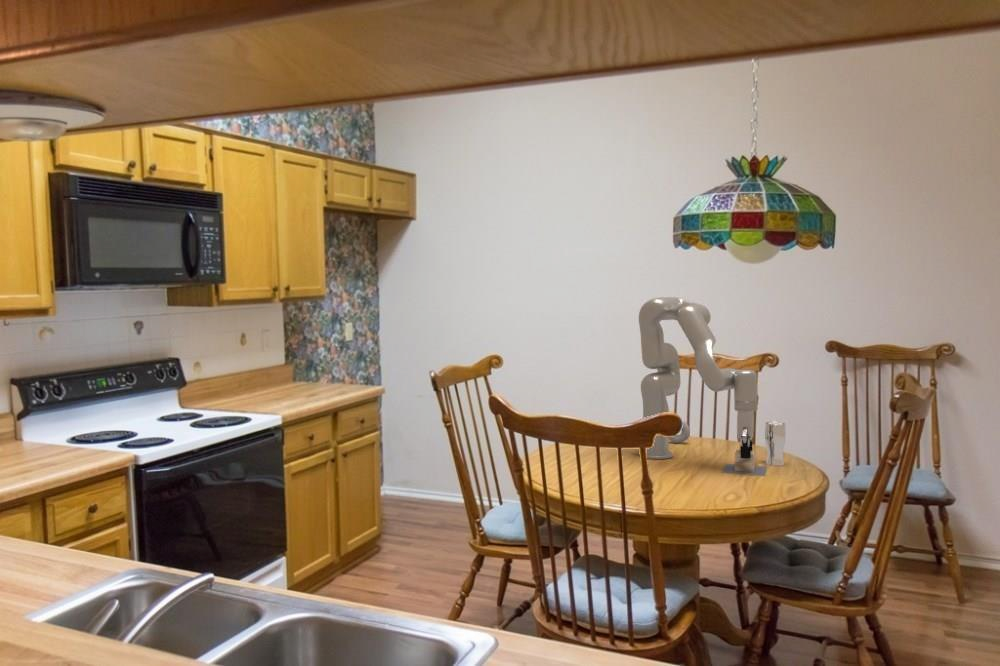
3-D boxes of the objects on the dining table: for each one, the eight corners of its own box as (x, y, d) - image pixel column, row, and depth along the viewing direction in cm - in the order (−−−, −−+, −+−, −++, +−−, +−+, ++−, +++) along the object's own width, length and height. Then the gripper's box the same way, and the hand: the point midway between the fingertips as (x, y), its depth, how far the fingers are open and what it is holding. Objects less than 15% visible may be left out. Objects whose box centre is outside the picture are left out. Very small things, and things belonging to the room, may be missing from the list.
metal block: (734, 470, 257) (735, 453, 257) (736, 466, 263) (736, 449, 262) (753, 472, 255) (753, 454, 254) (754, 468, 260) (754, 451, 260)
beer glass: (782, 462, 270) (782, 421, 269) (787, 467, 263) (788, 425, 262) (762, 462, 271) (762, 421, 270) (767, 466, 264) (767, 424, 263)
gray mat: (721, 474, 255) (721, 472, 255) (725, 464, 268) (725, 463, 268) (765, 477, 250) (765, 476, 250) (767, 468, 262) (767, 466, 262)
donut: (664, 443, 306) (664, 419, 305) (665, 441, 309) (665, 417, 308) (689, 444, 302) (689, 420, 302) (690, 443, 305) (690, 418, 305)
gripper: (736, 402, 267) (737, 449, 267) (732, 409, 251) (733, 459, 251) (758, 402, 264) (759, 450, 264) (755, 409, 248) (756, 461, 248)
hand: (746, 455), depth 258 cm, fingers open, 9 cm apart
